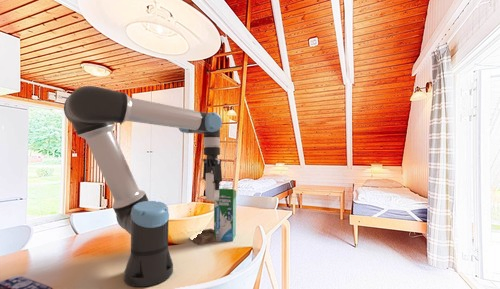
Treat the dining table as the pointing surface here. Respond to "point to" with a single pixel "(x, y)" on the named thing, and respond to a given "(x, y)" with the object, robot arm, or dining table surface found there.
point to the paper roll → (210, 187)
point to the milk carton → (225, 215)
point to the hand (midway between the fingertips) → (212, 195)
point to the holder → (205, 237)
